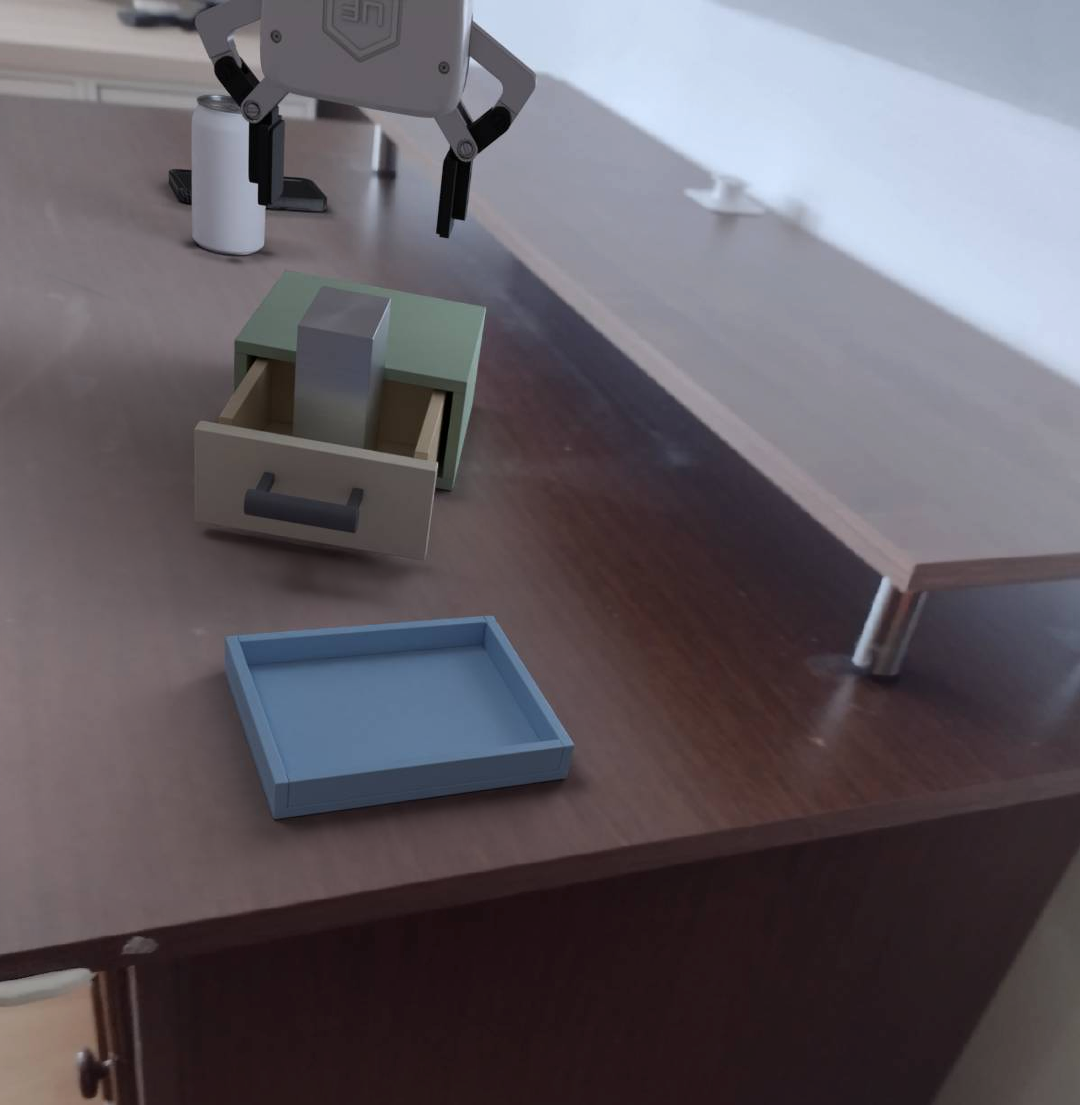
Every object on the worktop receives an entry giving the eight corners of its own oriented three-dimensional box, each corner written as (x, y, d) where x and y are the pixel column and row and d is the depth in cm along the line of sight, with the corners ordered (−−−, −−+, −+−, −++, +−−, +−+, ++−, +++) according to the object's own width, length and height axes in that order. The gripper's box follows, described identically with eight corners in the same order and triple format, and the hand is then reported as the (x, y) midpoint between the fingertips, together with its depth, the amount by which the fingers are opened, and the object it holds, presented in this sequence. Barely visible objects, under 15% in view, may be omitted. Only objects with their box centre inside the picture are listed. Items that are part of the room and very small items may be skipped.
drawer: (416, 595, 67) (427, 503, 63) (175, 554, 66) (173, 458, 62) (448, 462, 80) (459, 380, 77) (250, 427, 80) (252, 342, 76)
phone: (166, 168, 122) (310, 177, 128) (166, 179, 123) (310, 189, 129) (180, 191, 117) (330, 200, 123) (180, 203, 117) (329, 211, 123)
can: (222, 228, 114) (223, 90, 107) (278, 248, 112) (283, 109, 105) (177, 241, 109) (175, 97, 102) (235, 261, 107) (237, 116, 100)
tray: (273, 820, 52) (275, 783, 51) (224, 670, 60) (224, 635, 58) (567, 778, 58) (575, 745, 56) (487, 646, 65) (492, 614, 64)
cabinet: (452, 491, 79) (467, 382, 75) (232, 452, 78) (234, 339, 74) (472, 405, 91) (486, 306, 86) (280, 371, 90) (285, 269, 85)
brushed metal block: (289, 487, 72) (297, 324, 66) (312, 439, 77) (321, 285, 71) (359, 499, 72) (373, 338, 66) (376, 451, 77) (391, 298, 72)
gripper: (171, -208, 52) (180, 205, 62) (564, -130, 53) (509, 263, 63) (216, -204, 58) (218, 171, 68) (568, -134, 59) (517, 225, 69)
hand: (358, 215), depth 65 cm, fingers open, 9 cm apart
